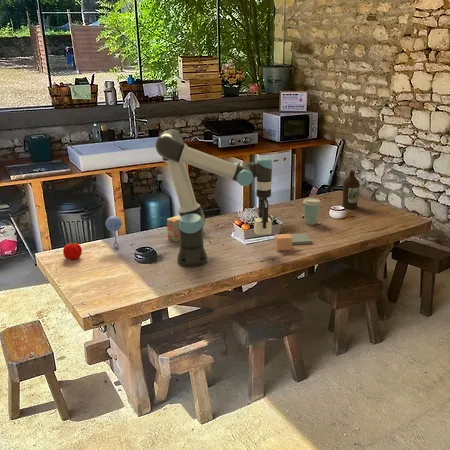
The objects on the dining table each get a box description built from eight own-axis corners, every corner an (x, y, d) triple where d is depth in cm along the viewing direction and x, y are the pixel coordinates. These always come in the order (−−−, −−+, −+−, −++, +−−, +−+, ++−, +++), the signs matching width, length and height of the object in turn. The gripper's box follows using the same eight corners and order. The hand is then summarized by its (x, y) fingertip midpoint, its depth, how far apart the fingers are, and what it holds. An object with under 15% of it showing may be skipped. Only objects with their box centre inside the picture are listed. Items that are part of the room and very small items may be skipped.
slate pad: (290, 244, 268) (290, 242, 268) (285, 236, 279) (285, 234, 279) (311, 243, 270) (312, 240, 269) (305, 235, 281) (305, 233, 280)
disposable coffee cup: (302, 219, 306) (303, 196, 301) (320, 220, 304) (321, 197, 299) (301, 225, 297) (302, 201, 292) (319, 226, 295) (321, 202, 289)
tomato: (66, 263, 250) (64, 248, 247) (61, 257, 258) (59, 242, 255) (85, 259, 255) (83, 244, 252) (79, 253, 263) (77, 238, 260)
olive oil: (338, 205, 333) (341, 168, 324) (353, 204, 335) (356, 167, 326) (345, 210, 323) (348, 172, 314) (360, 208, 325) (363, 171, 316)
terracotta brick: (277, 251, 261) (277, 238, 258) (274, 246, 266) (274, 234, 264) (291, 250, 262) (292, 237, 259) (289, 245, 267) (289, 233, 265)
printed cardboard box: (196, 229, 294) (195, 209, 290) (203, 232, 290) (202, 212, 285) (167, 239, 280) (166, 218, 276) (174, 241, 276) (173, 221, 272)
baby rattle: (104, 247, 269) (101, 216, 263) (117, 243, 275) (114, 212, 269) (114, 252, 263) (110, 220, 257) (127, 247, 269) (124, 215, 263)
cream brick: (256, 234, 255) (256, 221, 253) (254, 230, 261) (254, 218, 258) (271, 234, 256) (271, 221, 254) (268, 230, 262) (269, 217, 259)
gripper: (275, 193, 242) (273, 237, 250) (267, 183, 260) (265, 225, 268) (260, 194, 241) (258, 238, 249) (253, 184, 259) (252, 225, 267)
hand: (262, 231), depth 258 cm, fingers closed on cream brick, 6 cm apart
